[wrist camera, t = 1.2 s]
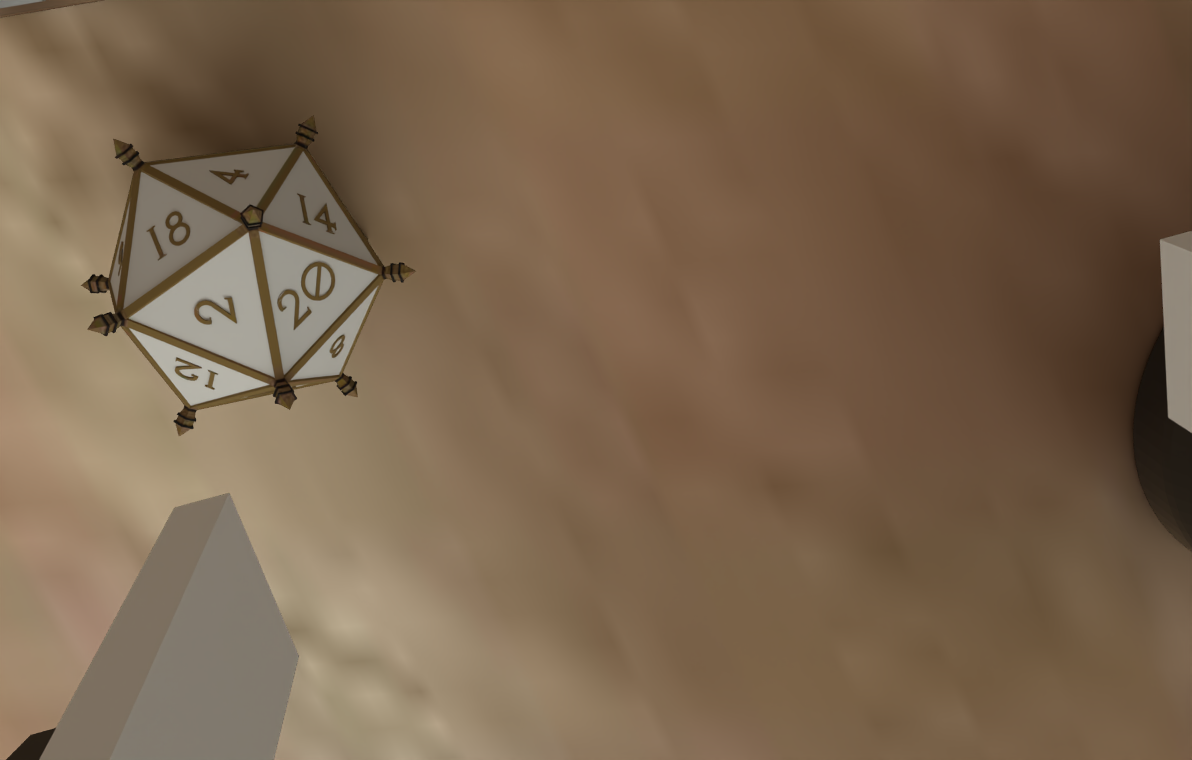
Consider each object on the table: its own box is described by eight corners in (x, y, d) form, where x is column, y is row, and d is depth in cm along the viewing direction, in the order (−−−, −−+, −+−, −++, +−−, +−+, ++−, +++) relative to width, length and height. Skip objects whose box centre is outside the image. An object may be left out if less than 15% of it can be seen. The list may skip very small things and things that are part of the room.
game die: (289, 165, 38) (318, 1, 28) (424, 371, 37) (497, 272, 28) (35, 283, 34) (-25, 137, 25) (183, 513, 34) (177, 451, 24)
